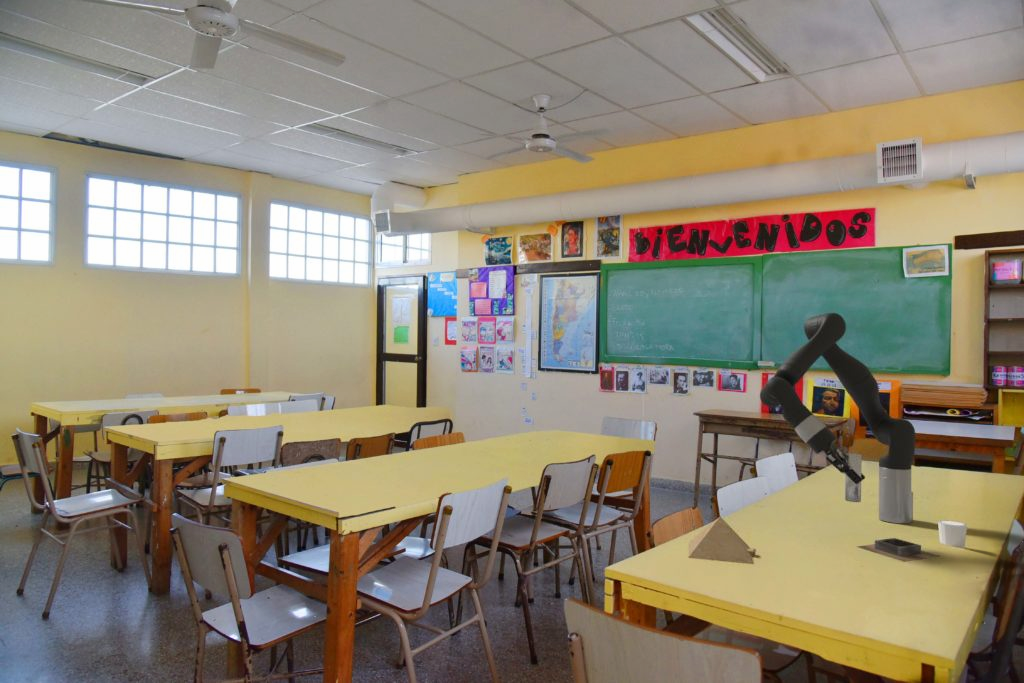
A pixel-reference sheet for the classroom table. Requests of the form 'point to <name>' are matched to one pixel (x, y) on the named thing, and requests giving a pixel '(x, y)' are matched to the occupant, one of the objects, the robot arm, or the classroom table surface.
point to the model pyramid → (720, 544)
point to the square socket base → (898, 549)
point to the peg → (850, 487)
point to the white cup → (952, 533)
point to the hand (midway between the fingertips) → (860, 480)
